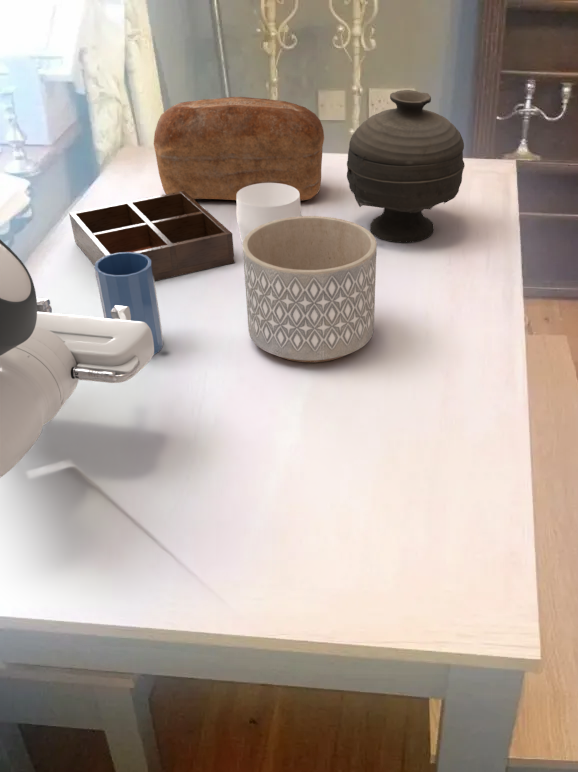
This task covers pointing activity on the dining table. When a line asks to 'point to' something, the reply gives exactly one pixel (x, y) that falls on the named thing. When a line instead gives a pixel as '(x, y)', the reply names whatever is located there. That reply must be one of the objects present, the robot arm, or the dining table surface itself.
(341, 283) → the planter
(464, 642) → the dining table surface
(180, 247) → the cup rack
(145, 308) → the tumbler
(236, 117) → the bread
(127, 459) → the dining table surface
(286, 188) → the cup
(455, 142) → the pot
